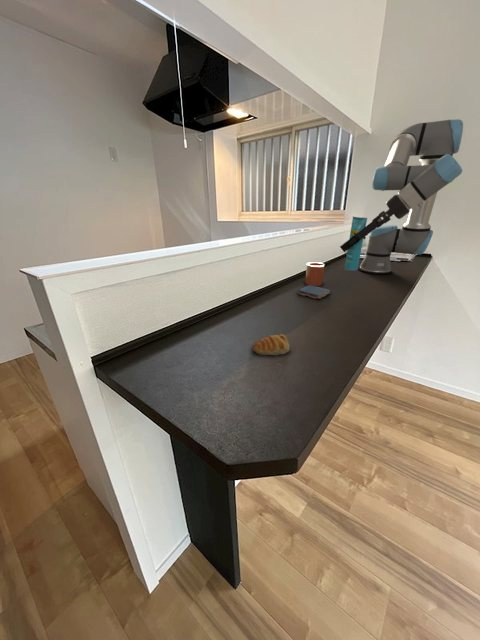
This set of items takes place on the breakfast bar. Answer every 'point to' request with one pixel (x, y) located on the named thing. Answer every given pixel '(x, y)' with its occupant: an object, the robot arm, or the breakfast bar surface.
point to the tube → (355, 250)
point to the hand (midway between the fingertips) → (344, 248)
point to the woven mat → (313, 291)
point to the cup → (314, 273)
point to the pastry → (272, 345)
